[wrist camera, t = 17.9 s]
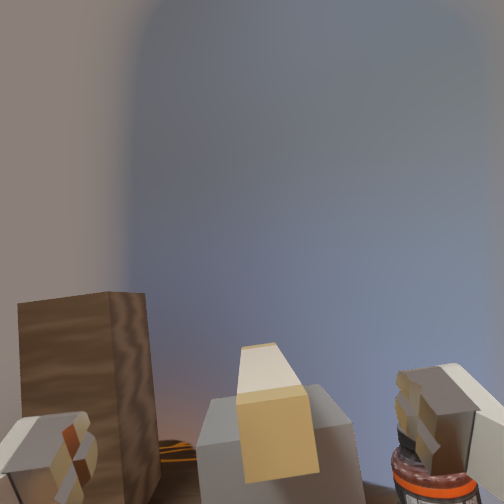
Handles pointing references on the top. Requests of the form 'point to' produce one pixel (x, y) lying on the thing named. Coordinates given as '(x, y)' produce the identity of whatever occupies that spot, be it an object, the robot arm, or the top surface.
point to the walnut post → (96, 384)
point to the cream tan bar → (273, 417)
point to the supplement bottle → (427, 479)
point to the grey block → (284, 489)
